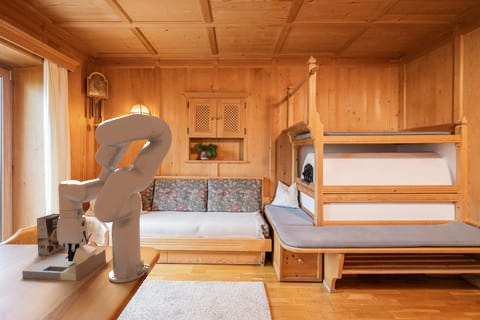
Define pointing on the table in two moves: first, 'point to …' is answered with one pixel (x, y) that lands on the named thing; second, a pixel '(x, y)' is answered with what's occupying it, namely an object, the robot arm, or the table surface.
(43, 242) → the coffee box
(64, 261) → the board
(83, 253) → the cream block
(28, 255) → the table surface
